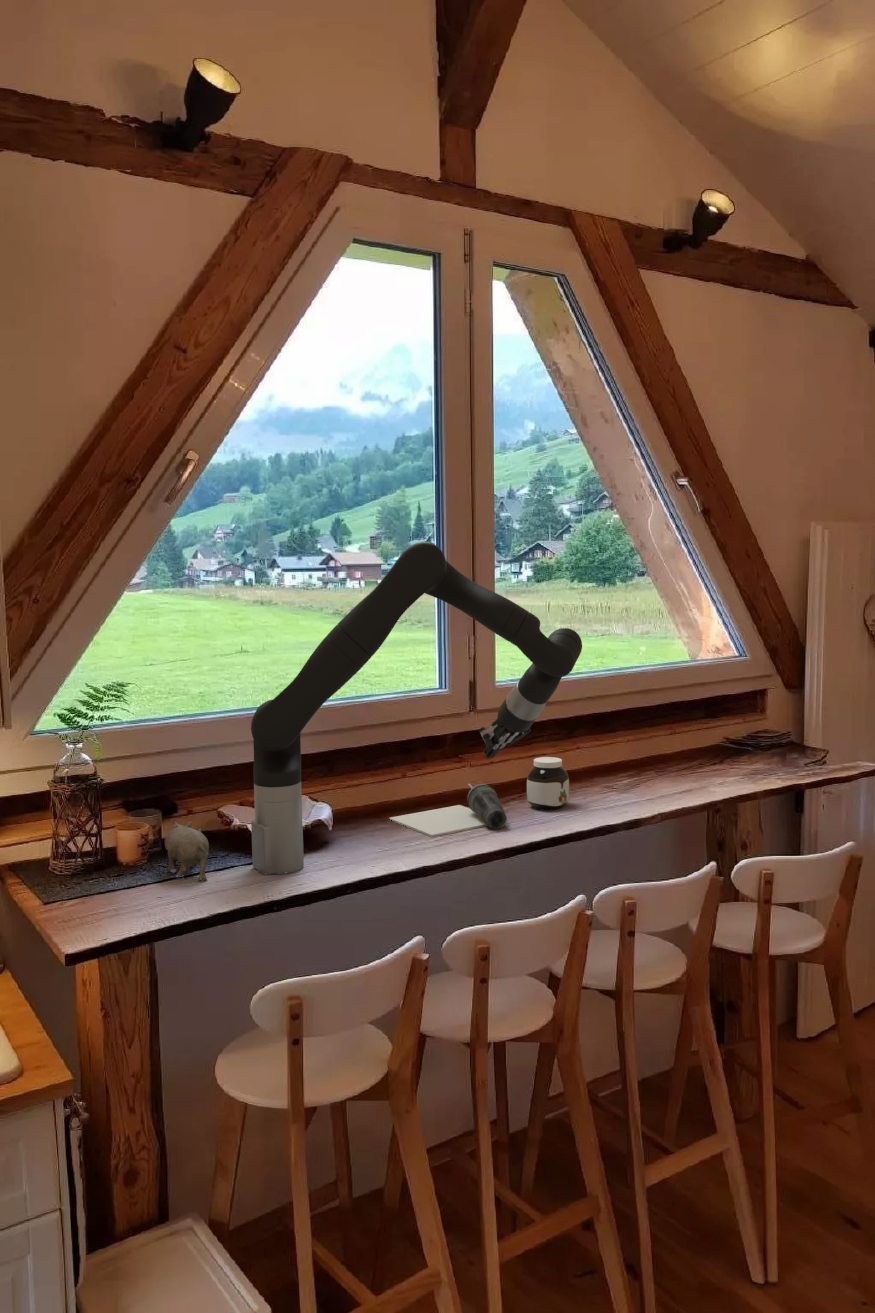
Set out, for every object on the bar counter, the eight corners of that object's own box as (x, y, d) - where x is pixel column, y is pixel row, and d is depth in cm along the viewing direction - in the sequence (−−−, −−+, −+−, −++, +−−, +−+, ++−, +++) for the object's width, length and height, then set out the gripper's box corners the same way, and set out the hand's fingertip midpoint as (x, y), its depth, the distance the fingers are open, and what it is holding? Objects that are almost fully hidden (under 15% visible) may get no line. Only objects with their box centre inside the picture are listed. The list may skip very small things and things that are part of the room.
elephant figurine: (169, 877, 186) (168, 801, 193) (162, 900, 197) (162, 828, 204) (212, 876, 188) (210, 801, 196) (202, 899, 199) (201, 828, 207)
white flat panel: (431, 837, 219) (431, 835, 219) (389, 819, 234) (389, 817, 234) (504, 822, 230) (504, 820, 230) (459, 806, 245) (459, 804, 245)
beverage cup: (517, 810, 224) (492, 777, 243) (490, 800, 222) (466, 767, 241) (503, 839, 225) (479, 804, 244) (475, 828, 223) (453, 793, 242)
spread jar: (544, 813, 237) (544, 765, 236) (511, 805, 246) (511, 758, 245) (579, 805, 245) (579, 758, 244) (546, 797, 254) (545, 751, 253)
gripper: (539, 688, 211) (504, 737, 223) (489, 694, 204) (455, 745, 215) (556, 716, 207) (519, 765, 219) (506, 723, 200) (470, 773, 211)
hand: (487, 755), depth 217 cm, fingers closed
